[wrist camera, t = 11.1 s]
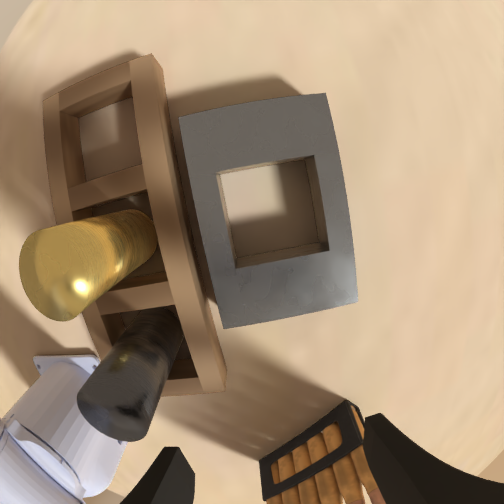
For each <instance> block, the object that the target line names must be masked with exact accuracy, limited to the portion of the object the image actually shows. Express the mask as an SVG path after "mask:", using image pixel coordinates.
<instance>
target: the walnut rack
mask: <svg viewBox="0 0 504 504" xmlns="http://www.w3.org/2000/svg"><path fill="white" fill-rule="evenodd" d="M130 97H133V104H134V112H135V120H136V127H137V134H138V140H139V147H140V153H141V159H142V164H140V165H136V166H133V167H130V168H127V169H123V170H120V171H117V172H114V173H111V174H108V175H105V176H102V177H99V178H96V179H93V180H90V181H88V182H86V178H85V172H84V165H83V158H82V150H81V141H80V131H79V120H78V118H79V117H82V116H84V115H86V114H89V113H91V112H93V111H96V110H98V109H100V108H103V107H105V106H108V105H111V104H113V103H116V102H119V101H121V100H124V99H127V98H130ZM43 122H44V139H45V151H46V161H47V170H48V177H49V184H50V191H51V197H52V203H53V208H54V213H55V218H56V223H57V225H61V224H65V223H70V222H74V221H78V220H82V219H87V218H91V217H93V216H92V211H91V208H93V207H97V206H100V205H103V204H106V203H110V202H113V201H116V200H120V199H123V198H127V197H130V196H134V195H138V194H141V193H145V192H148V197H149V202H150V206H151V211H152V216H153V220H154V225H155V229H156V234H157V238H158V242H159V246H160V250H161V254H162V258H163V262H164V266H165V270H166V272H161V273H156V274H150V275H145V276H140V277H134V278H129V279H124V280H121V281H119V282H118V283H117V284H116V285H114V286H113V287H112V288H111V289H109V290H108V291H107V292H106V293H104V294H103V295H102V296H101V297H99V298H98V299H97V300H96V301H94V302H93V303H92V304H91V305H90V306H88V307H87V308H86V309H85V310H83V311H82V314H83V317H84V319H85V322H86V325H87V327H88V330H89V332H90V335H91V337H92V340H93V342H94V345H95V347H96V349H97V352H98V354H99V356H100V358H101V361H102V360H103V358H104V357H105V356H106V354H107V353H108V352H109V350H110V349H111V348H112V347H113V345H114V344H115V343H116V341H117V340H118V339H119V338H120V336H121V335H122V334H123V333H124V331H125V327H124V324H123V322H122V319H121V316H120V312H127V311H134V310H141V309H148V308H155V307H161V306H168V305H174V304H175V306H176V309H177V313H178V316H179V319H180V323H181V326H182V329H183V332H184V336H185V339H186V342H187V345H188V348H189V351H190V354H191V357H192V359H183V360H174V363H173V365H172V368H171V371H170V373H169V376H168V378H167V381H166V384H165V386H164V389H163V391H162V394H161V397H163V396H180V395H193V394H204V393H214V392H223V391H225V387H226V376H227V368H226V365H225V361H224V358H223V354H222V351H221V347H220V344H219V340H218V336H217V333H216V329H215V325H214V322H213V318H212V314H211V310H210V306H209V303H208V299H207V295H206V291H205V287H204V283H203V279H202V275H201V270H200V266H199V262H198V258H197V254H196V249H195V245H194V240H193V236H192V232H191V227H190V222H189V218H188V213H187V208H186V203H185V199H184V194H183V189H182V184H181V179H180V173H179V168H178V163H177V157H176V152H175V146H174V140H173V135H172V129H171V123H170V116H169V110H168V104H167V97H166V90H165V83H164V76H163V69H162V67H161V66H160V64H159V63H158V62H157V60H156V59H155V58H154V56H153V55H152V53H151V54H148V55H145V56H142V57H139V58H136V59H134V60H131V61H128V62H125V63H123V64H120V65H117V66H115V67H112V68H110V69H107V70H105V71H103V72H100V73H98V74H96V75H93V76H91V77H89V78H87V79H85V80H82V81H80V82H78V83H76V84H74V85H72V86H70V87H68V88H66V89H64V90H62V91H60V92H58V93H57V94H55V95H53V96H51V97H49V98H47V99H46V100H44V101H43Z"/></svg>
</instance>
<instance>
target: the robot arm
mask: <svg viewBox="0 0 504 504" xmlns="http://www.w3.org/2000/svg"><path fill="white" fill-rule="evenodd" d="M33 362H34V364H35V366H36V368H37V370H38V372H39V374H40V377H39V378H38V379H37V380H36V381H35V383H34V384H33V385H32V386H31V387H30V388H29V389H28V390H27V391H26V392H25V393H24V394H23V396H22V397H21V398H20V399H19V400H18V401H17V402H16V403H15V404H14V406H13V407H12V408H11V409H10V410H9V411H8V412H7V413H6V415H5V416H4V417H3V418H2V419H1V418H0V504H86V503H85V502H84V501H83V500H82V499H83V497H92V496H95V495H98V494H100V493H101V492H102V491H104V490H105V489H106V488H107V487H108V486H109V485H110V483H111V482H112V480H113V477H114V475H115V472H116V470H117V467H118V465H119V462H120V460H121V457H122V455H123V452H124V450H125V447H126V445H127V443H128V442H126V441H120V440H116V439H113V438H111V437H108V436H106V435H104V434H103V433H101V432H99V431H98V430H96V429H95V428H94V427H93V426H92V425H90V424H89V423H88V422H87V421H86V419H85V418H84V417H83V415H82V414H81V412H80V410H79V408H78V405H77V394H78V392H79V390H80V389H81V388H82V386H83V385H84V384H85V382H86V381H87V379H88V378H89V377H90V375H91V374H92V373H93V371H94V370H95V369H96V367H95V366H94V365H96V366H98V365H99V364H100V362H99V359H98V358H97V357H96V356H95V355H61V356H35V357H33ZM363 450H364V454H365V457H366V460H367V463H368V466H369V469H370V471H371V473H372V475H373V478H374V480H375V482H376V484H377V486H378V488H379V490H380V492H381V494H382V497H383V499H384V501H385V503H386V504H504V483H498V482H494V481H490V480H486V479H483V478H480V477H477V476H474V475H471V474H468V473H465V472H463V471H461V470H459V469H456V468H454V467H452V466H450V465H448V464H446V463H445V462H443V461H441V460H439V459H438V458H436V457H434V456H433V455H431V454H430V453H428V452H427V451H425V450H424V449H423V448H421V447H420V446H418V445H417V444H416V443H415V442H413V441H412V440H411V439H409V438H408V437H407V436H406V435H404V434H403V433H402V432H401V431H400V430H399V429H398V428H396V427H395V426H394V425H393V424H392V423H391V422H390V421H389V420H388V419H387V418H386V417H385V416H384V415H383V414H381V413H378V414H375V415H372V416H369V417H365V427H364V438H363ZM194 492H195V473H194V471H193V470H192V468H191V467H190V465H189V463H188V462H187V460H186V458H185V457H184V455H183V453H182V452H181V450H180V448H179V447H164V448H163V449H162V451H161V452H160V454H159V455H158V456H157V458H156V459H155V461H154V462H153V464H152V465H151V466H150V468H149V469H148V471H147V472H146V473H145V475H144V476H143V477H142V478H141V480H140V481H139V482H138V484H137V485H136V486H135V487H134V488H133V490H132V491H131V492H130V493H129V494H128V495H127V496H126V497H125V499H124V500H123V501H122V502H121V503H120V504H193V500H194Z"/></svg>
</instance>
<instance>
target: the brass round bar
mask: <svg viewBox="0 0 504 504" xmlns="http://www.w3.org/2000/svg"><path fill="white" fill-rule="evenodd" d="M157 241H158V238H157V234H156V229H155V225H154V223H153V221H152V220H151V219H150V217H149V216H147V215H146V214H145V213H143V212H141V211H139V210H134V209H129V210H124V211H119V212H114V213H109V214H105V215H100V216H95V217H91V218H87V219H82V220H78V221H74V222H70V223H65V224H61V225H57V226H53V227H50V228H46V229H42V230H38V231H36V232H34V233H32V234H31V235H30V236H29V237H28V238H27V239H26V241H25V242H24V244H23V246H22V249H21V253H20V258H19V272H20V278H21V282H22V285H23V288H24V290H25V292H26V295H27V296H28V298H29V300H30V301H31V303H32V304H33V305H34V306H35V308H36V309H37V310H38V311H39V312H41V313H42V314H43V315H45V316H46V317H48V318H50V319H52V320H55V321H69V320H71V319H73V318H75V317H76V316H77V315H79V314H80V313H81V312H82V311H83V310H85V309H86V308H87V307H88V306H90V305H91V304H92V303H93V302H94V301H96V300H97V299H98V298H99V297H101V296H102V295H103V294H104V293H106V292H107V291H108V290H109V289H111V288H112V287H113V286H114V285H116V284H117V283H118V282H119V281H121V280H122V279H123V278H125V277H126V276H127V275H128V274H130V273H131V272H132V271H134V270H135V269H136V268H138V267H139V266H140V265H141V264H143V263H144V262H145V261H147V260H148V259H149V258H150V257H151V256H152V255H153V253H154V252H155V249H156V247H157Z"/></svg>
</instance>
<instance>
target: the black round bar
mask: <svg viewBox="0 0 504 504" xmlns="http://www.w3.org/2000/svg"><path fill="white" fill-rule="evenodd" d="M183 336H184V332H183V329H182V326H181V323H180V320H179V319H178V318H177V316H176V315H175V314H174V313H172V312H171V311H169V310H167V309H165V308H162V307H155V308H148V309H143V310H142V311H141V312H140V313H139V314H138V315H137V316H136V318H135V319H134V320H133V321H132V323H131V324H130V325H129V326H128V328H127V329H126V330H125V331H124V333H123V334H122V335H121V336H120V338H119V339H118V340H117V341H116V343H115V344H114V345H113V347H112V348H111V349H110V350H109V352H108V353H107V354H106V356H105V357H104V358H103V360H102V361H101V362H100V364H99V365H98V366H97V367H96V369H95V370H94V371H93V373H92V374H91V375H90V377H89V378H88V379H87V381H86V382H85V384H84V385H83V386H82V388H81V389H80V390H79V392H78V394H77V405H78V408H79V410H80V412H81V414H82V415H83V417H84V418H85V419H86V421H87V422H88V423H89V424H90V425H92V426H93V427H94V428H95V429H96V430H98V431H99V432H101V433H103V434H104V435H106V436H108V437H111V438H113V439H116V440H120V441H126V442H133V441H138V440H141V439H142V438H144V437H145V436H146V434H147V432H148V429H149V426H150V424H151V421H152V418H153V416H154V413H155V410H156V407H157V405H158V402H159V399H160V397H161V394H162V391H163V389H164V386H165V384H166V381H167V378H168V376H169V373H170V371H171V368H172V365H173V363H174V360H175V358H176V355H177V353H178V350H179V348H180V345H181V342H182V340H183Z"/></svg>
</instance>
